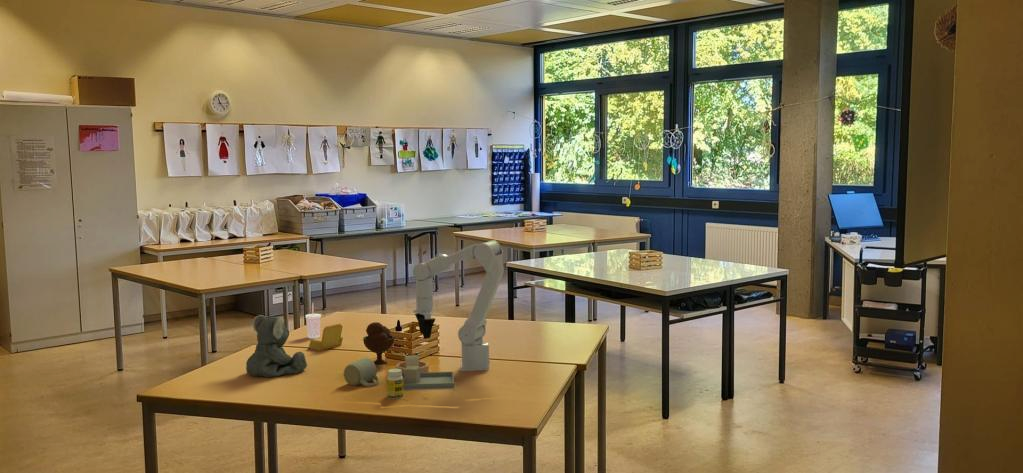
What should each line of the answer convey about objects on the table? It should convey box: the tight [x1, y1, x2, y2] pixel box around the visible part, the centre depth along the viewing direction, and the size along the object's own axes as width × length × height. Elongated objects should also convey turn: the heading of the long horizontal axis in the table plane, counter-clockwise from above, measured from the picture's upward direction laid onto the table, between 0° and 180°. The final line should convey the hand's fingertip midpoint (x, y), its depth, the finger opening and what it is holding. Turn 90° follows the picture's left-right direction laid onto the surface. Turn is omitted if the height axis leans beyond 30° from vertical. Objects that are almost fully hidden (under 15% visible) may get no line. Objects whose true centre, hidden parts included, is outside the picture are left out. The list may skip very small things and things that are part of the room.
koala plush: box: [245, 314, 308, 378], centre depth 263 cm, size 17×18×20 cm
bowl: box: [395, 360, 430, 373], centre depth 260 cm, size 11×11×3 cm
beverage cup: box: [305, 302, 322, 339], centre depth 314 cm, size 6×6×14 cm
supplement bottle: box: [386, 368, 404, 400], centre depth 234 cm, size 5×5×8 cm
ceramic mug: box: [343, 357, 380, 387], centre depth 248 cm, size 11×8×8 cm
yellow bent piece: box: [308, 323, 344, 351], centre depth 298 cm, size 10×10×9 cm
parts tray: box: [401, 371, 455, 392], centre depth 249 cm, size 17×17×2 cm
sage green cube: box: [404, 354, 420, 368], centre depth 260 cm, size 4×4×5 cm
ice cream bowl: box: [362, 321, 395, 366], centre depth 272 cm, size 11×11×15 cm
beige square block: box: [404, 366, 420, 384], centre depth 247 cm, size 4×4×5 cm
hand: (425, 335), depth 272 cm, fingers open, 7 cm apart
